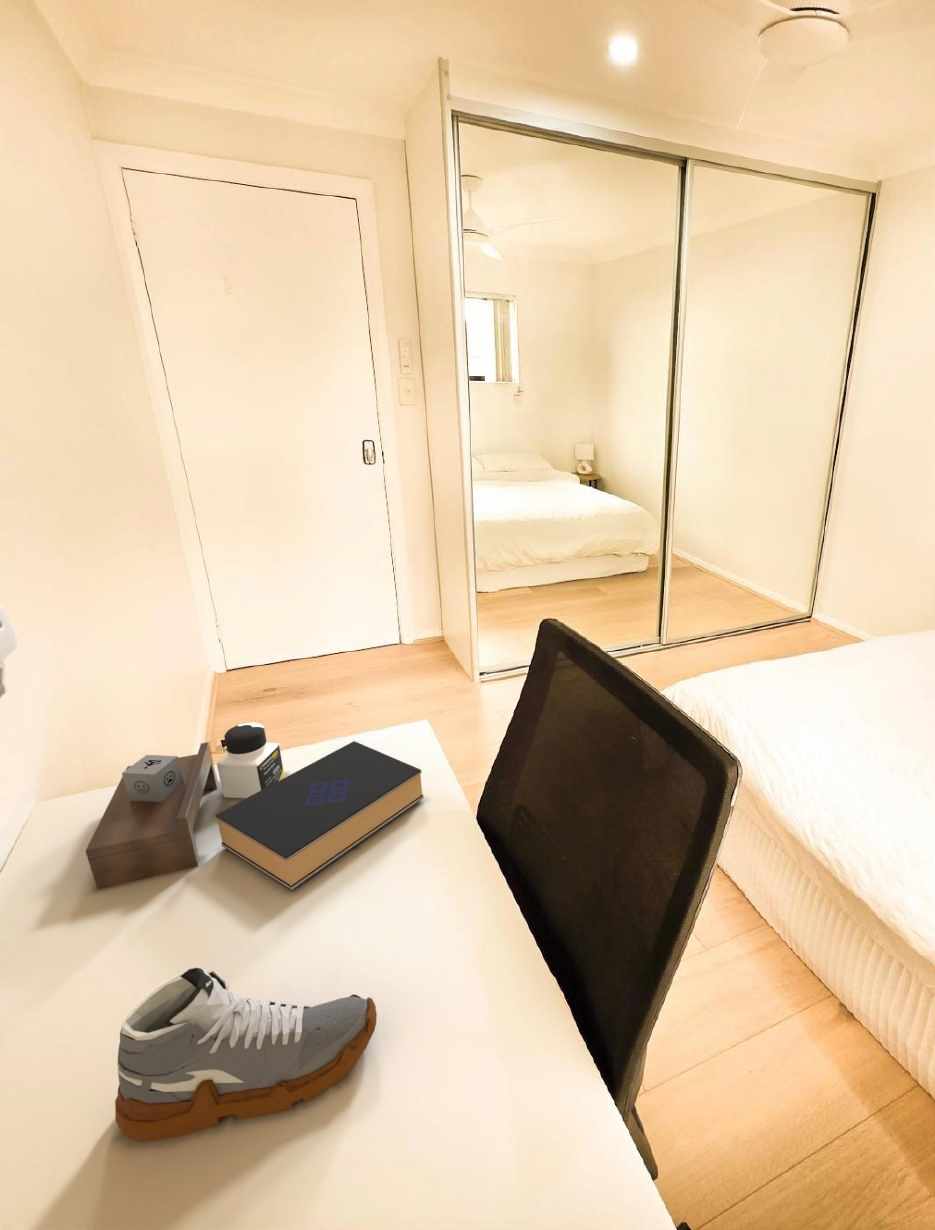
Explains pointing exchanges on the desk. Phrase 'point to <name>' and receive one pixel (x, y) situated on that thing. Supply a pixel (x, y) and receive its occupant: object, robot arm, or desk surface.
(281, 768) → the medicine bottle
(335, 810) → the book
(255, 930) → the desk surface
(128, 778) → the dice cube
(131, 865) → the wooden cradle stand
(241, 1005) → the sneaker
